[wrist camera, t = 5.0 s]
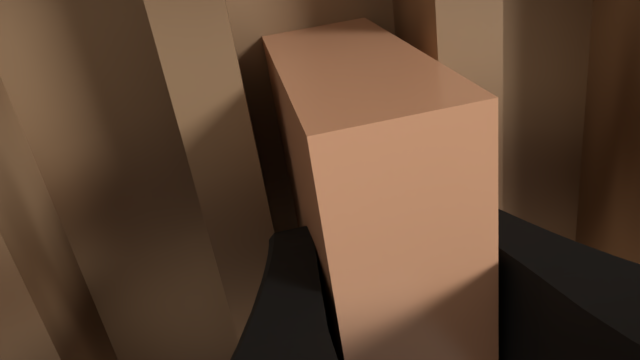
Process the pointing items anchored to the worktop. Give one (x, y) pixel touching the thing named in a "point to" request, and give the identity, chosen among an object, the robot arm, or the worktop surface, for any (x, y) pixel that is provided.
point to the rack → (259, 152)
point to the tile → (392, 190)
